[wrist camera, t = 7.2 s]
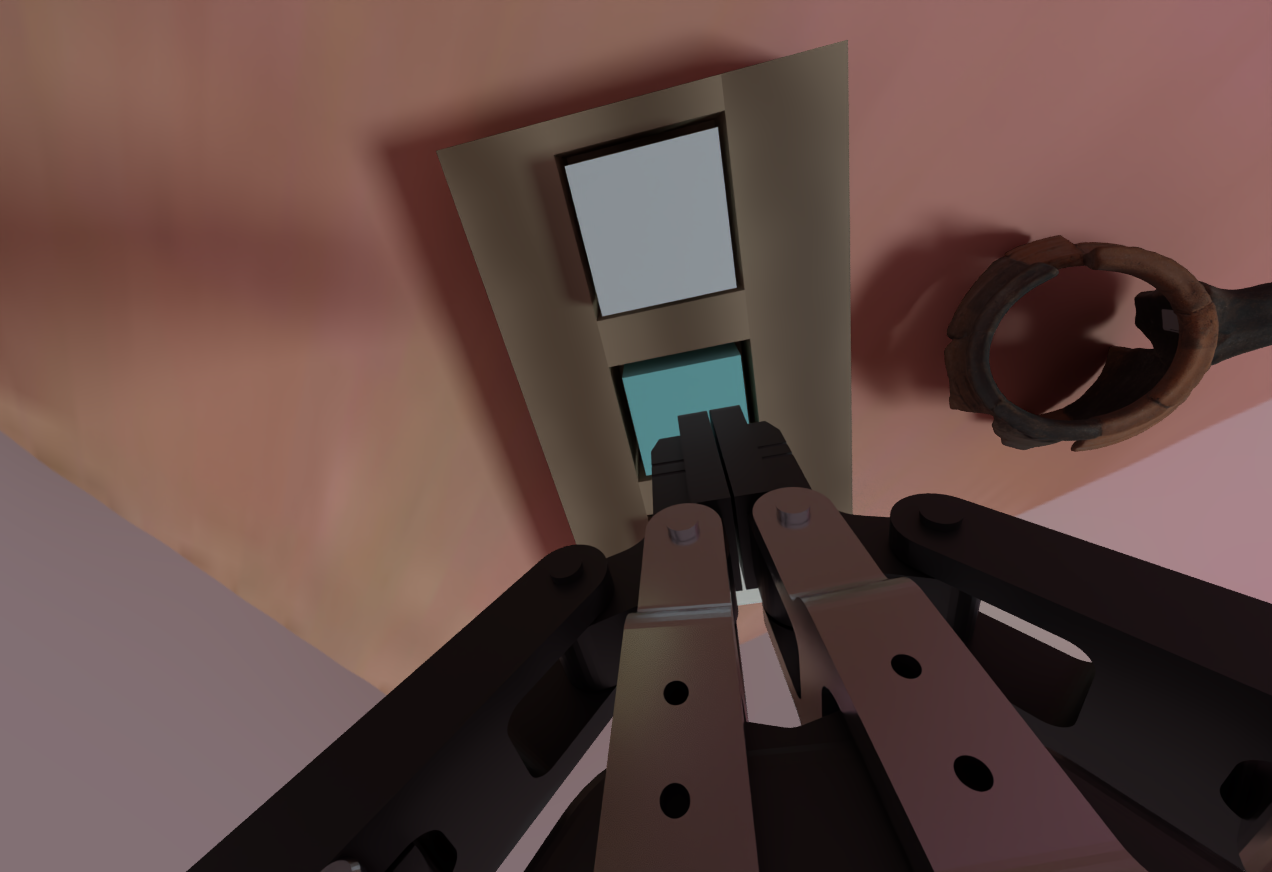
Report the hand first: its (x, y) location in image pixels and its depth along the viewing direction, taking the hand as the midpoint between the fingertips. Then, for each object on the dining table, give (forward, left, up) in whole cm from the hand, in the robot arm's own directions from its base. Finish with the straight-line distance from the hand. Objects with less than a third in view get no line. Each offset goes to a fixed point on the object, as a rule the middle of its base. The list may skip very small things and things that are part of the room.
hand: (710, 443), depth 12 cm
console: (0, -4, -13) cm, 14 cm away
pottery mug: (+17, -5, -13) cm, 22 cm away
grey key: (0, +4, -10) cm, 11 cm away
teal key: (0, -4, -11) cm, 12 cm away
